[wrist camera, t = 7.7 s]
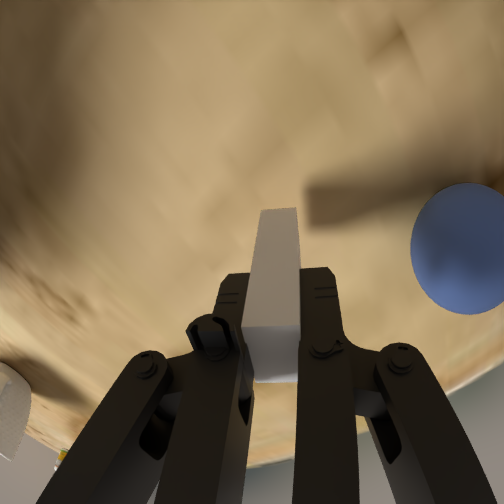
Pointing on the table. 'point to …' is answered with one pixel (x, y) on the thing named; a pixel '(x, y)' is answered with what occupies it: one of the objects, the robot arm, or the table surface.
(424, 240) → the ball
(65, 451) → the supplement bottle
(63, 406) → the table surface
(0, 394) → the mug
